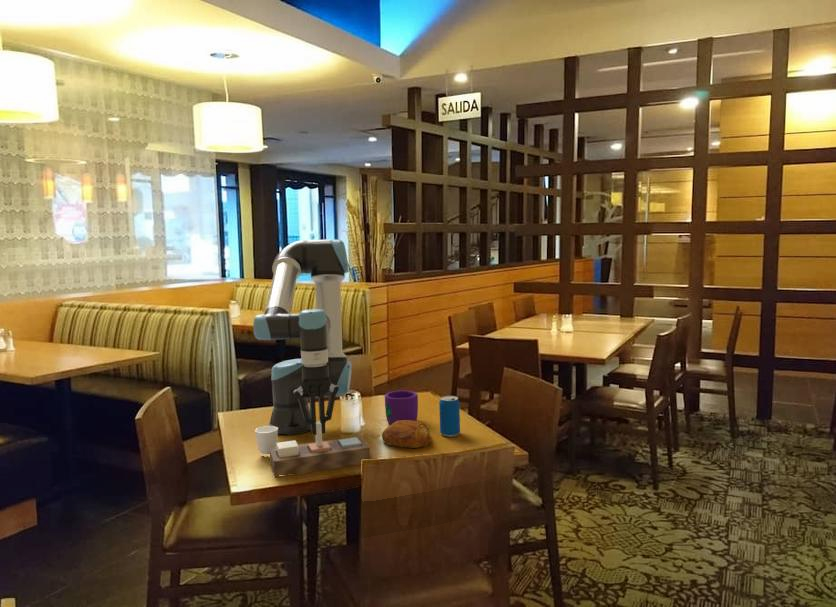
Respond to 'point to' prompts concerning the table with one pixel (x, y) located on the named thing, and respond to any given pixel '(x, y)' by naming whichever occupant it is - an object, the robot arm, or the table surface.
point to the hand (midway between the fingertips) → (319, 444)
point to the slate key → (349, 443)
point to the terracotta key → (314, 448)
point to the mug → (401, 406)
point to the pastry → (406, 434)
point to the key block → (319, 458)
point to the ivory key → (287, 449)
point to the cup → (266, 438)
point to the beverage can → (449, 416)
